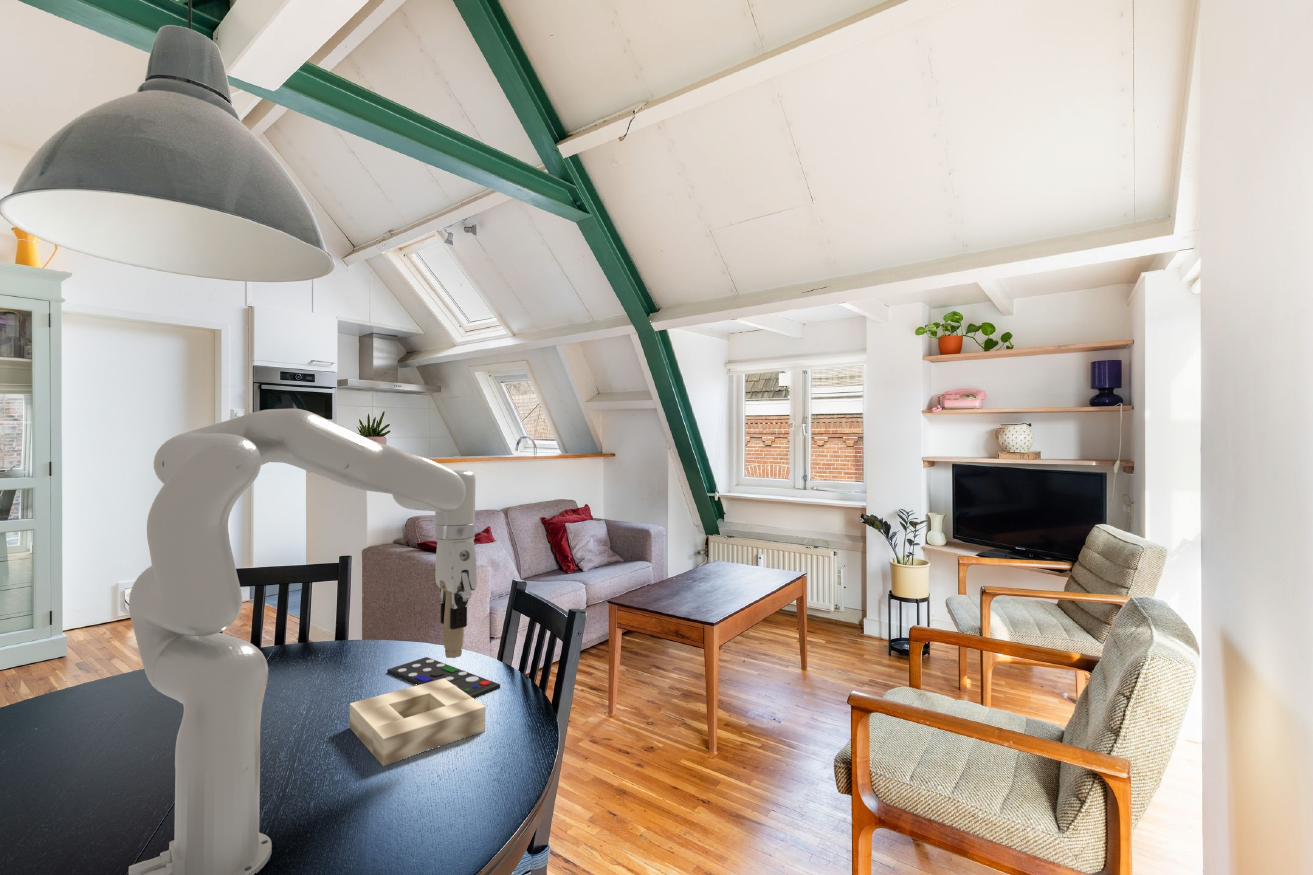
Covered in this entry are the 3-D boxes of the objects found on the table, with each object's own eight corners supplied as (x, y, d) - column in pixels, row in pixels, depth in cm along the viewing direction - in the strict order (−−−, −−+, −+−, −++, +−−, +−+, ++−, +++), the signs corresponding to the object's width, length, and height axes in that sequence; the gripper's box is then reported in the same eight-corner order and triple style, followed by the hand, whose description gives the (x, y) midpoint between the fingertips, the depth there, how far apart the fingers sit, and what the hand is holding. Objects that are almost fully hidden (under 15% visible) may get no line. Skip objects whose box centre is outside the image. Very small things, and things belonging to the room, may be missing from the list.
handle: (452, 663, 116) (453, 584, 116) (433, 655, 120) (434, 579, 120) (473, 656, 120) (474, 580, 120) (454, 649, 124) (455, 575, 124)
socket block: (383, 766, 110) (383, 738, 110) (349, 727, 125) (349, 703, 125) (485, 731, 124) (485, 706, 124) (443, 700, 138) (444, 678, 138)
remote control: (460, 706, 136) (460, 697, 136) (387, 675, 154) (387, 667, 154) (500, 690, 145) (500, 681, 145) (426, 662, 163) (426, 654, 163)
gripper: (491, 535, 116) (490, 631, 116) (456, 526, 129) (454, 612, 129) (453, 539, 111) (451, 639, 111) (420, 529, 124) (419, 619, 124)
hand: (453, 624), depth 120 cm, fingers closed on handle, 3 cm apart
